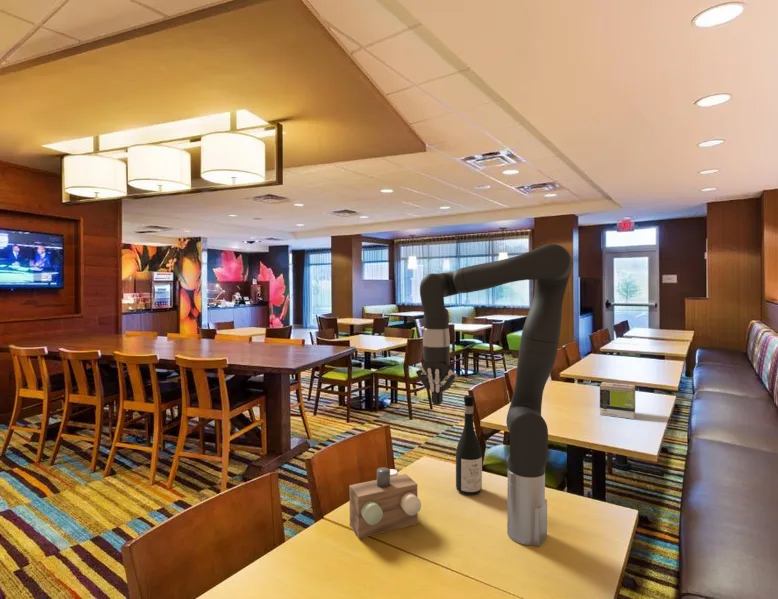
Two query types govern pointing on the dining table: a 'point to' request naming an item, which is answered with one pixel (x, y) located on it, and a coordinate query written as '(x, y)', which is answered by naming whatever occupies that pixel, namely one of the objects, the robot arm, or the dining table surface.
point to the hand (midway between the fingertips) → (437, 404)
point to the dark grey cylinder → (383, 477)
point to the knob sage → (371, 512)
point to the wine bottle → (468, 455)
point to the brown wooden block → (381, 505)
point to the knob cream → (410, 503)
